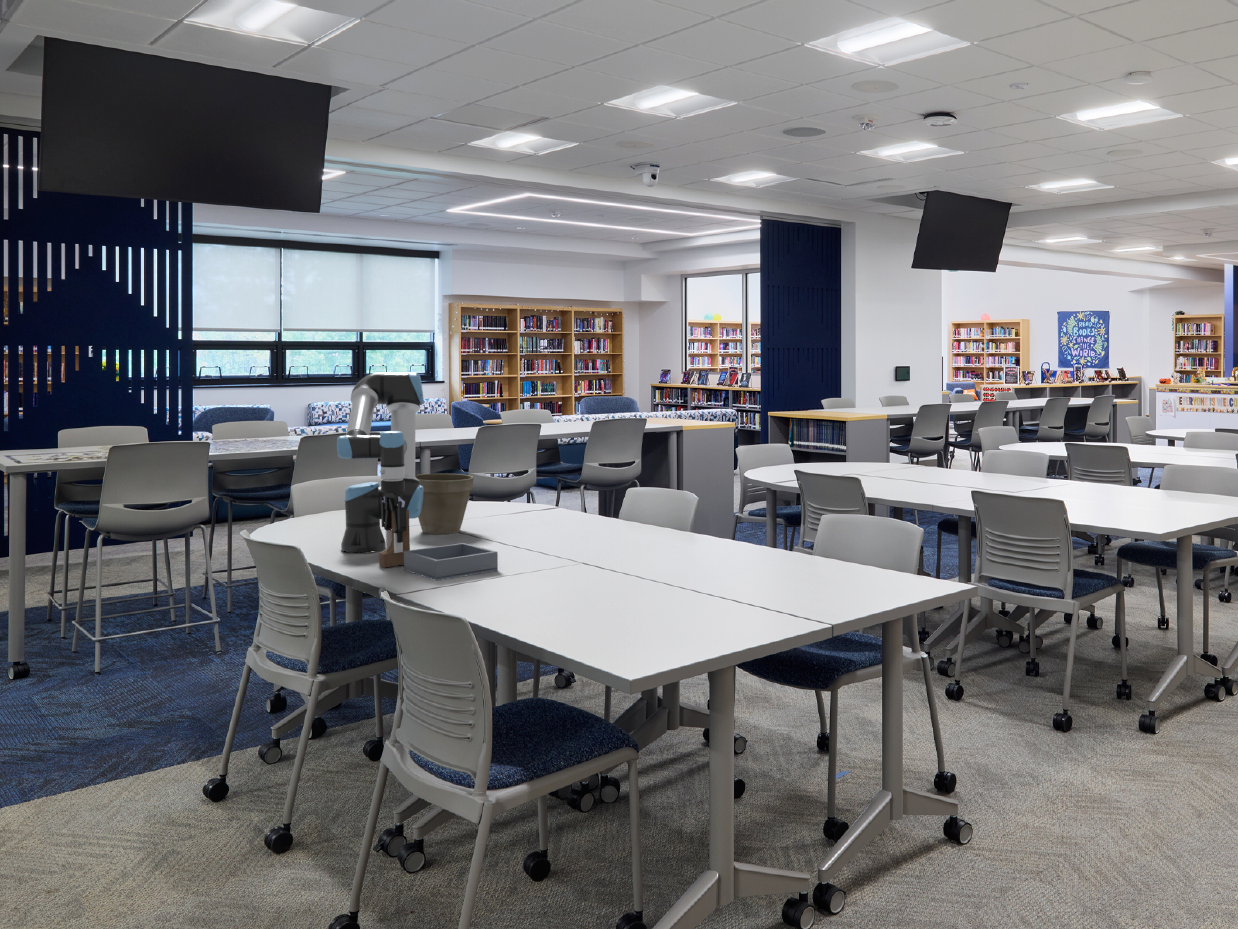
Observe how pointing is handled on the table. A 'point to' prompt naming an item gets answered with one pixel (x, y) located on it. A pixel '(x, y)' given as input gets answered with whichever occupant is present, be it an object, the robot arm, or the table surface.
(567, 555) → the table surface
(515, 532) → the table surface
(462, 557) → the open-top box
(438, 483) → the plant pot
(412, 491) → the robot arm
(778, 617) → the table surface
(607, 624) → the table surface
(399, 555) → the wooden block
